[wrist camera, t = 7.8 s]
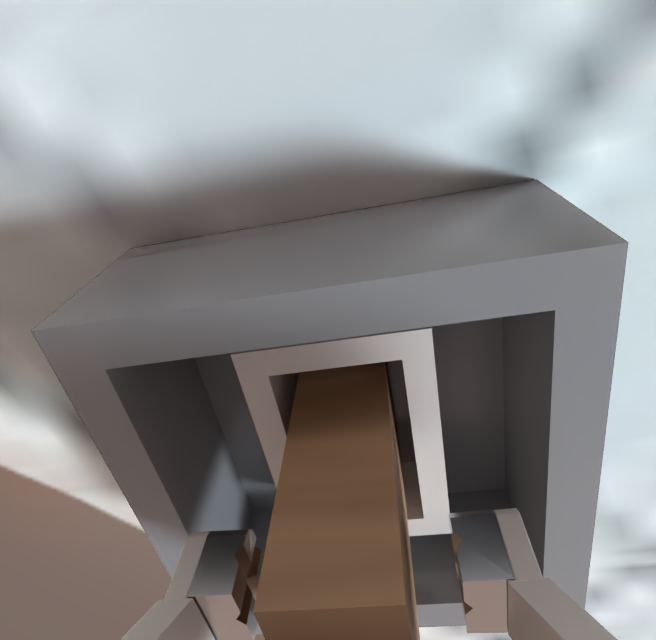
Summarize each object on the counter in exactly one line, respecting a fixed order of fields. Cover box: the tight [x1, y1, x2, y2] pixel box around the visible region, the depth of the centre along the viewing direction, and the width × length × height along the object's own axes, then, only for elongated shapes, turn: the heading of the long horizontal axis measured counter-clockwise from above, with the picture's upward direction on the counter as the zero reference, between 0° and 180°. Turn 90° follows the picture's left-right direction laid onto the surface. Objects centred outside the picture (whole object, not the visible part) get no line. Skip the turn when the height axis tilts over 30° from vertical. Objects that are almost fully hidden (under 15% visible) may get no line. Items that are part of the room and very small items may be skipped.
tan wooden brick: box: [253, 362, 420, 640], centre depth 12 cm, size 4×2×8 cm, turn 11°
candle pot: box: [31, 179, 628, 634], centre depth 14 cm, size 12×12×5 cm
